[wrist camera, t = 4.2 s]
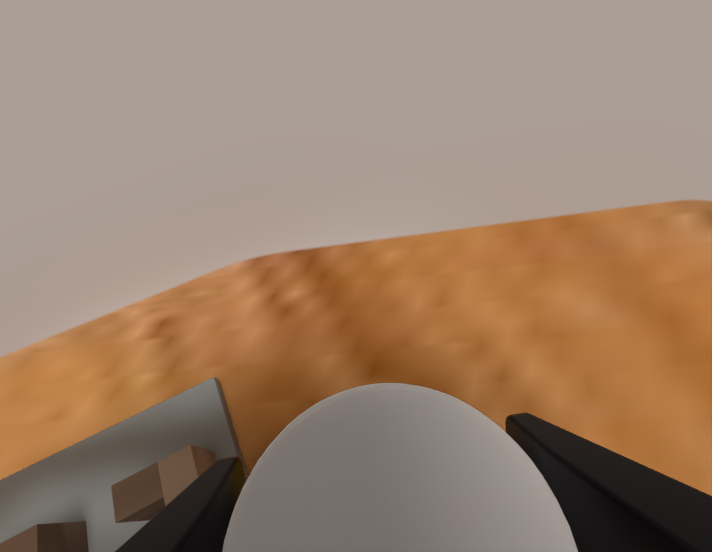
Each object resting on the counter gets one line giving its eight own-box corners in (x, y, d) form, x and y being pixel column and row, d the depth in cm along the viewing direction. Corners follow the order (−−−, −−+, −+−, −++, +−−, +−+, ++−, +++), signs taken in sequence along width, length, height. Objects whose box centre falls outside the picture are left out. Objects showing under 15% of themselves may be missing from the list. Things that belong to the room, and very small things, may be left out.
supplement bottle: (271, 550, 12) (28, 648, 4) (360, 407, 14) (337, 269, 6) (416, 686, 10) (597, 1514, 2) (492, 496, 12) (720, 474, 4)
